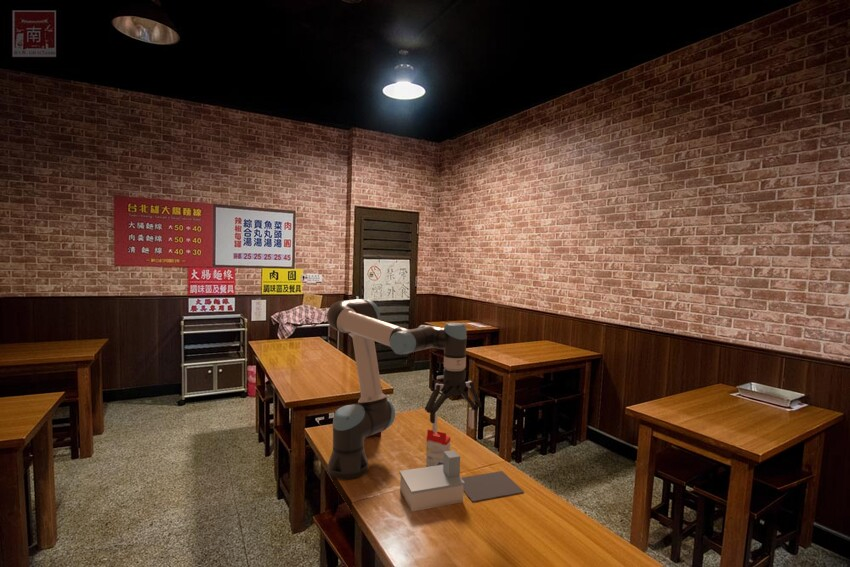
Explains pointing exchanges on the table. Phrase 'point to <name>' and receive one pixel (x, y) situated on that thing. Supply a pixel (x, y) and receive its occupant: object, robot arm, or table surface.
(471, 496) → the mat
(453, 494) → the tub
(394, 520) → the table surface
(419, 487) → the lid
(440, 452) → the ink box
